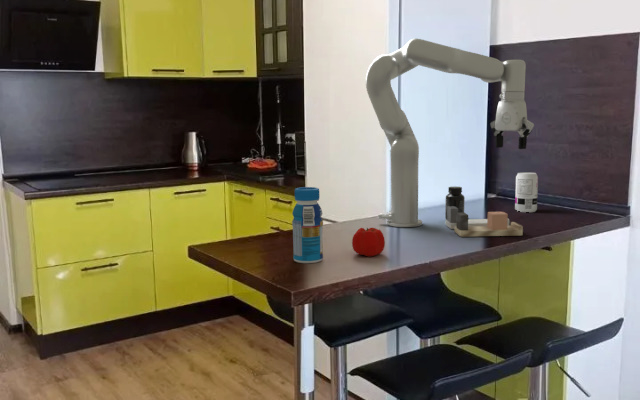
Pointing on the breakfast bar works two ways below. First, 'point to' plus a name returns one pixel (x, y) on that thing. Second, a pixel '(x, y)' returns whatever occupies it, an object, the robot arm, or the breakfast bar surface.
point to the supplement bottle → (455, 199)
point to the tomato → (368, 242)
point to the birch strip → (483, 228)
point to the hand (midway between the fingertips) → (510, 148)
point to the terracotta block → (497, 220)
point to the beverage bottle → (307, 226)
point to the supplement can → (526, 192)
